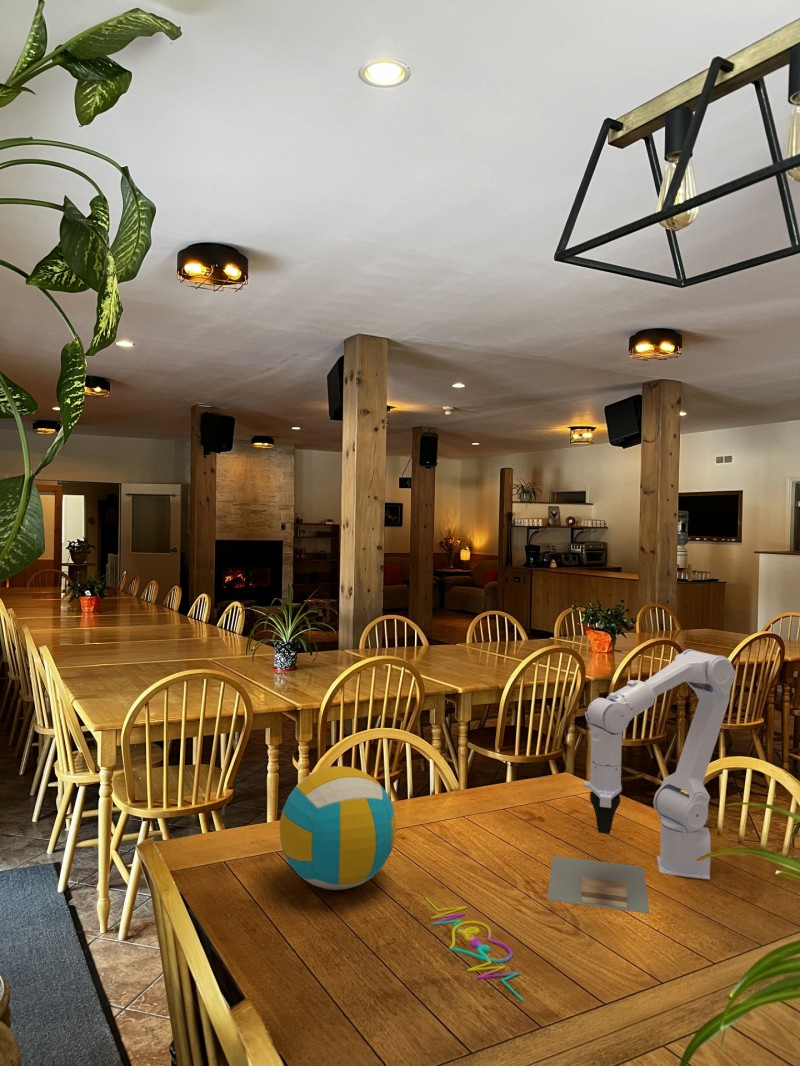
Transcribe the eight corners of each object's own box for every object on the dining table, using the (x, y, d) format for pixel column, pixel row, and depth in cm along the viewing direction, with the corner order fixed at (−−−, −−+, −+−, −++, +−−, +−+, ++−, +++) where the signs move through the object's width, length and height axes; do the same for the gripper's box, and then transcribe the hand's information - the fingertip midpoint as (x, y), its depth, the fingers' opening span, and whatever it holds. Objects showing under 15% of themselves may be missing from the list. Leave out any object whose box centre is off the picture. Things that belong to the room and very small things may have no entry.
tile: (626, 882, 150) (627, 896, 144) (625, 893, 150) (627, 908, 144) (582, 877, 152) (581, 891, 146) (582, 887, 152) (581, 902, 146)
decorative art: (500, 1009, 114) (558, 992, 118) (500, 1003, 114) (558, 987, 118) (402, 905, 145) (451, 895, 149) (402, 900, 145) (451, 890, 149)
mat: (643, 868, 162) (643, 866, 162) (649, 915, 142) (649, 913, 142) (552, 857, 166) (552, 856, 166) (546, 902, 146) (546, 899, 146)
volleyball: (414, 899, 146) (416, 779, 146) (298, 921, 137) (300, 794, 137) (369, 853, 166) (371, 747, 166) (265, 869, 157) (267, 758, 157)
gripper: (585, 749, 162) (583, 816, 163) (584, 771, 148) (582, 844, 148) (621, 753, 161) (619, 820, 161) (623, 774, 147) (621, 848, 147)
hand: (604, 832), depth 155 cm, fingers closed
